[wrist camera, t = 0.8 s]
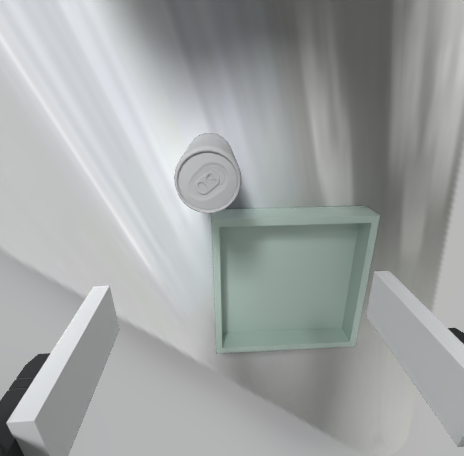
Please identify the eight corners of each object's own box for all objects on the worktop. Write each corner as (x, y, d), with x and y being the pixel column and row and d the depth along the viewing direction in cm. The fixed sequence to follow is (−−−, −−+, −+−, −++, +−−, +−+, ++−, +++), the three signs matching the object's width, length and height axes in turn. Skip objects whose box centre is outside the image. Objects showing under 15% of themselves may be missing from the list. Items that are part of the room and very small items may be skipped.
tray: (211, 209, 34) (211, 220, 31) (365, 205, 35) (380, 215, 32) (215, 334, 41) (216, 353, 38) (344, 328, 42) (355, 346, 39)
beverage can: (241, 159, 32) (256, 186, 21) (207, 187, 33) (204, 227, 22) (212, 122, 31) (211, 131, 20) (177, 153, 32) (158, 178, 21)
